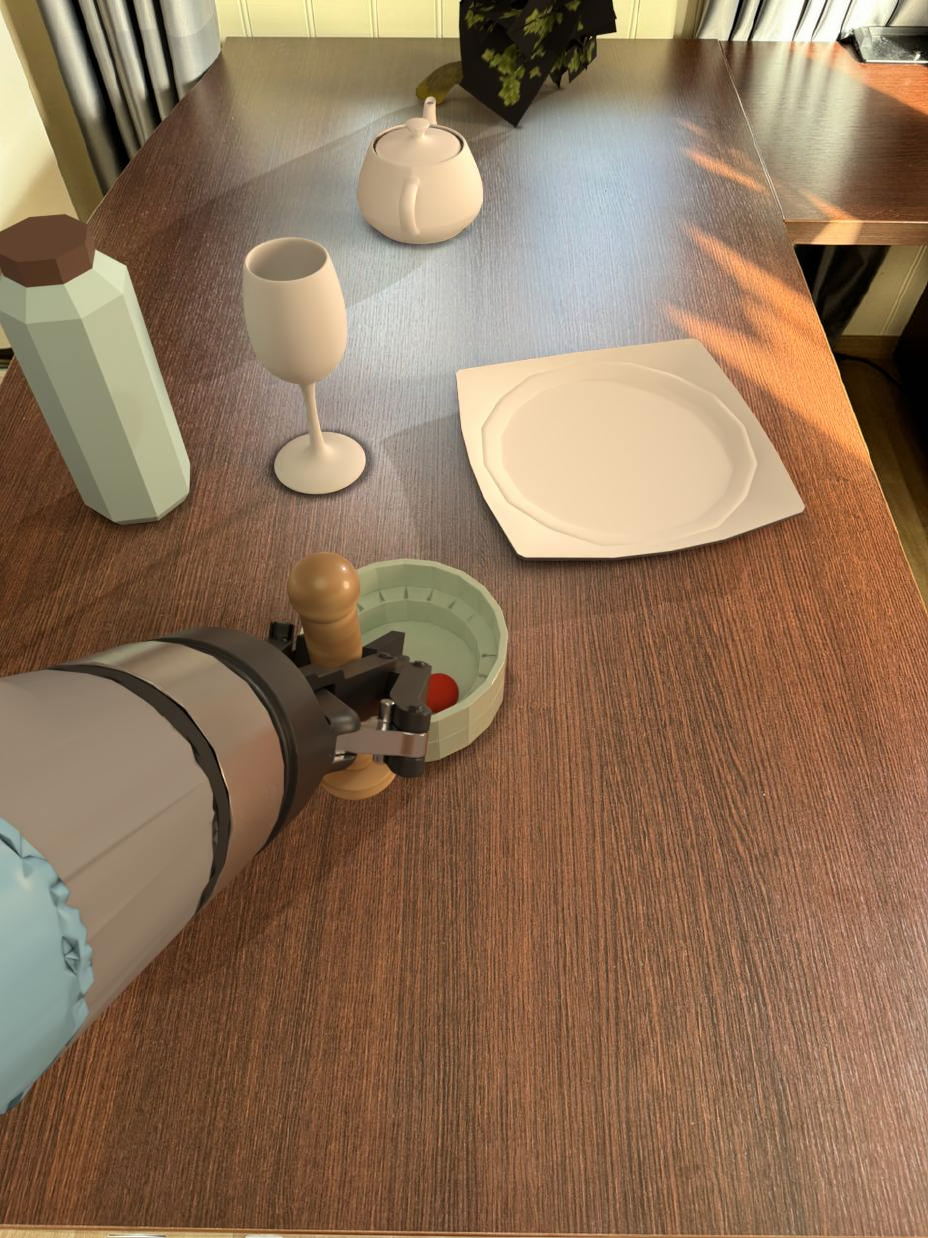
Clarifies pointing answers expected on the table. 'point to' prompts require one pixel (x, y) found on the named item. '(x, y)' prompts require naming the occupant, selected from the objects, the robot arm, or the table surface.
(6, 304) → the water bottle
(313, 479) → the wineglass
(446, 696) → the tomato
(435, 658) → the bowl
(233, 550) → the table surface
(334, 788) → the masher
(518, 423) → the plate
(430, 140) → the teapot
